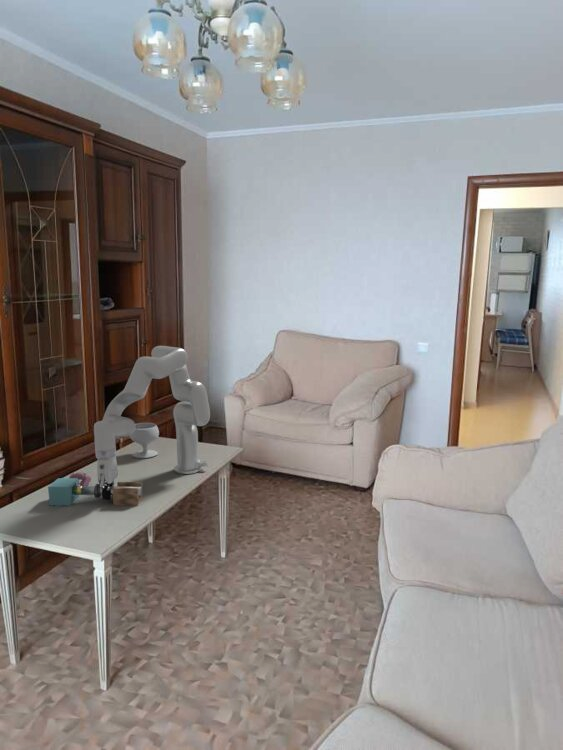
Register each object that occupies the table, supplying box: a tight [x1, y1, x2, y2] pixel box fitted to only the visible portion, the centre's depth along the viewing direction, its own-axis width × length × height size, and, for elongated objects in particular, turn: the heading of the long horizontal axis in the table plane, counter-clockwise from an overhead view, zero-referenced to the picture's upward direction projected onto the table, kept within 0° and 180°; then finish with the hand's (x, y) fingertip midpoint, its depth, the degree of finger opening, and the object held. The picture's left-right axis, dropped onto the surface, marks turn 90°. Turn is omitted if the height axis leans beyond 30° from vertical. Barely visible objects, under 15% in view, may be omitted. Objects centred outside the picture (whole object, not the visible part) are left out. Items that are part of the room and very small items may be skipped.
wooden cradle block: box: [112, 481, 144, 506], centre depth 212 cm, size 10×7×7 cm
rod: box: [74, 483, 143, 499], centre depth 212 cm, size 26×5×5 cm, turn 89°
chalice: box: [129, 422, 160, 459], centre depth 267 cm, size 14×14×15 cm
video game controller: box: [68, 471, 92, 486], centre depth 228 cm, size 10×5×7 cm, turn 72°
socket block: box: [47, 477, 80, 507], centre depth 212 cm, size 8×9×8 cm
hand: (108, 497), depth 212 cm, fingers closed on rod, 3 cm apart
